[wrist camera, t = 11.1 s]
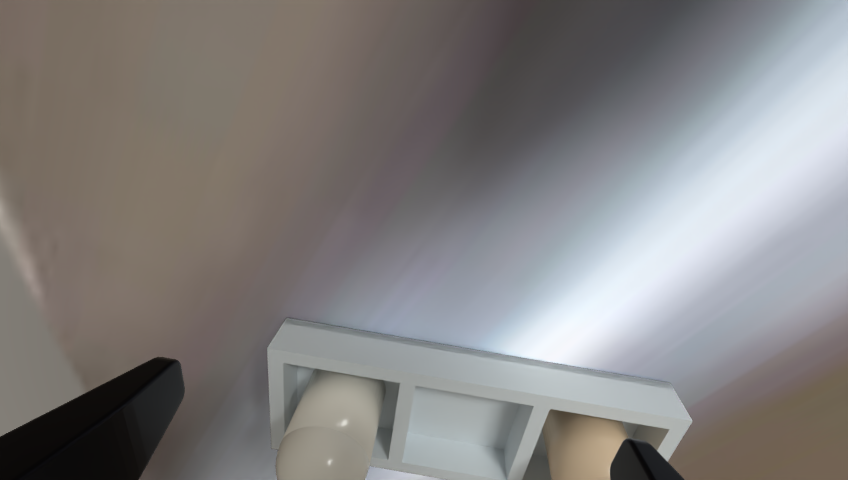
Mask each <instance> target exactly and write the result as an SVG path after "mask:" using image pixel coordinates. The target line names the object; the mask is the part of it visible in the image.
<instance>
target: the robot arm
mask: <svg viewBox="0 0 848 480" xmlns="http://www.w3.org/2000/svg"><path fill="white" fill-rule="evenodd" d="M184 391H185V387H184V381H183V375H182V369H181V364H180V362H179V361H178V360H176V359H170V358H164V357H157V358H154V359H152V360H150V361H148V362H146V363H144V364H142V365H140V366H138V367H136V368H134V369H132V370H130V371H128V372H126V373H124V374H122V375H120V376H118V377H116V378H114V379H112V380H110V381H108V382H106V383H104V384H102V385H100V386H99V387H97V388H95V389H93V390H91V391H89V392H87V393H85V394H83V395H81V396H79V397H77V398H75V399H73V400H71V401H69V402H67V403H65V404H63V405H61V406H59V407H58V408H55V409H53V410H51V411H50V412H48V413H46V414H44V415H42V416H40V417H38V418H36V419H34V420H32V421H30V422H28V423H26V424H24V425H22V426H20V427H18V428H16V429H14V430H12V431H10V432H8V433H6V434H5V435H3V436H1V437H0V480H138V479H139V478H140V476H141V475H142V473H143V471H144V469H145V468H146V466H147V464H148V462H149V461H150V459H151V457H152V455H153V453H154V451H155V450H156V448H157V446H158V444H159V442H160V440H161V438H162V437H163V435H164V433H165V431H166V429H167V427H168V426H169V424H170V422H171V420H172V418H173V416H174V415H175V413H176V411H177V409H178V407H179V405H180V403H181V402H182V399H183V397H184ZM610 479H611V480H684V479H683V478H682V477H681V475H680V474H679V473H678V472H677V471H676V470H675V469H674V468H673V467H672V466H671V465H670V464H669V463H668V462H667V461H666V460H665V459H664V458H663V456H662V455H661V454H660V453H659V452H658V451H657V450H656V449H655V448H654V447H653V446H652V445H651V444H650V443H648V442H646V441H643V440H638V439H632V438H626V439H625V440H623V442H622V444H621V446H620V447H619V449H618V451H617V453H616V455H615V457H614V459H613V461H612V463H611V466H610Z"/></svg>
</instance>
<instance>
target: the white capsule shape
mask: <svg viewBox="0 0 848 480" xmlns="http://www.w3.org/2000/svg"><path fill="white" fill-rule="evenodd" d="M385 393H386V387H385V383H384V380H379V379H373V378H368V377H362V376H356V375H350V374H344V373H339V372H333V371H327V370H321V369H314V371H313V373H312V375H311V377H310V380H309V382H308V384H307V386H306V388H305V390H304V393H303V395H302V397H301V399H300V401H299V404H298V406H297V408H296V410H295V412H294V415H293V417H292V419H291V421H290V423H289V426H288V428H287V430H286V432H285V434H284V437H283V439H282V441H281V443H280V446H279V449H278V452H277V457H276V477H277V480H365V478H366V476H367V473H368V469H369V465H370V460H371V456H372V451H373V447H374V442H375V438H376V433H377V429H378V425H379V420H380V416H381V411H382V407H383V402H384V398H385Z"/></svg>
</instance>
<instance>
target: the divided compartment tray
mask: <svg viewBox="0 0 848 480" xmlns="http://www.w3.org/2000/svg"><path fill="white" fill-rule="evenodd" d="M267 356H268V380H269V404H270V428H271V449H276V450H278V449H279V446H280V443H281V441H282V439H283V437H284V434H285V432H286V430H287V428H288V426H289V423H290V421H291V419H292V417H293V415H294V412H295V410H296V408H297V406H298V404H299V401H300V399H301V397H302V395H303V393H304V390H305V388H306V386H307V384H308V382H309V380H310V377H311V375H312V373H313V371H314V369H321V370H327V371H333V372H339V373H344V374H350V375H356V376H362V377H368V378H373V379H379V380H384V383H385V387H386V393H385V398H384V402H383V407H382V411H381V416H380V420H379V425H378V429H377V433H376V438H375V442H374V447H373V451H372V456H371V460H370V465H369V466H372V467H378V468H384V469H389V470H395V471H401V472H406V473H412V474H418V475H423V476H429V477H435V478H440V479H446V480H552V479H551V474H550V468H549V463H548V458H547V453H546V448H545V443H544V438H543V432H542V428H543V425H544V423H545V420H546V418H547V415H548V412H549V411H550V410H551V409H554V410H560V411H565V412H571V413H577V414H583V415H589V416H594V417H600V418H606V419H612V420H618V421H622V423H623V425H624V428H625V430H626V433H627V435H628V438H632V439H638V440H643V441H646V442H648V443H650V444H651V445H652V446H653V447H654V448H655V449H656V450H657V451H658V452H659V453H660V454H661V455H662V456H663V458H664V459H665V460H666V461H668V460H669V458H670V457H671V455H672V453H673V452H674V450H675V449H676V447H677V445H678V444H679V442H680V441H681V439H682V437H683V436H684V434H685V433H686V431H687V429H688V428H689V426H690V424H691V423H692V419H691V418H690V416H689V414H688V412H687V411H686V409H685V407H684V406H683V404H682V402H681V401H680V399H679V397H678V396H677V394H676V392H675V390H674V389H673V387H672V385H671V384H670V383H668V382H662V381H656V380H650V379H644V378H639V377H633V376H627V375H621V374H615V373H609V372H603V371H597V370H591V369H586V368H580V367H574V366H568V365H562V364H556V363H550V362H544V361H538V360H533V359H527V358H521V357H515V356H509V355H503V354H497V353H491V352H485V351H480V350H474V349H468V348H462V347H456V346H450V345H444V344H438V343H432V342H427V341H421V340H415V339H409V338H403V337H397V336H391V335H385V334H379V333H374V332H368V331H362V330H356V329H350V328H344V327H338V326H332V325H326V324H321V323H315V322H309V321H303V320H297V319H291V318H286V319H285V321H284V323H283V324H282V326H281V327H280V329H279V330H278V332H277V334H276V335H275V337H274V338H273V340H272V341H271V343H270V345H269V346H268V348H267Z"/></svg>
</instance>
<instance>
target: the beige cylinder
mask: <svg viewBox="0 0 848 480" xmlns="http://www.w3.org/2000/svg"><path fill="white" fill-rule="evenodd" d="M542 432H543V438H544V443H545V448H546V453H547V458H548V463H549V468H550V474H551V479H552V480H611V479H610V466H611V463H612V461H613V459H614V457H615V455H616V453H617V451H618V449H619V447H620V446H621V444H622V442H623V440H625V439H626V438H628V435H627V433H626V430H625V428H624V425H623V423H622V421H618V420H612V419H606V418H600V417H594V416H589V415H583V414H577V413H571V412H565V411H560V410H554V409H551V410H550V411H549V412H548V415H547V418H546V420H545V423H544V425H543V428H542Z"/></svg>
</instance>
